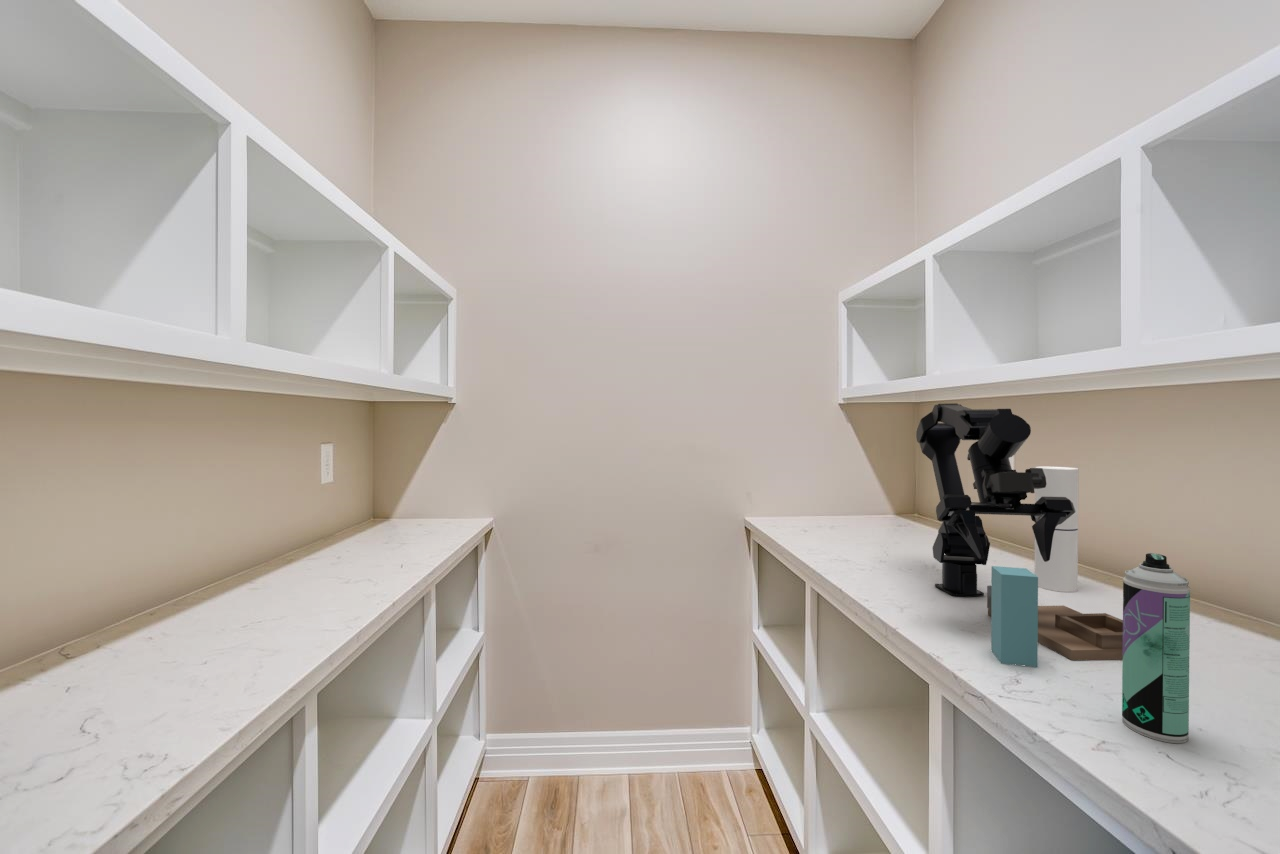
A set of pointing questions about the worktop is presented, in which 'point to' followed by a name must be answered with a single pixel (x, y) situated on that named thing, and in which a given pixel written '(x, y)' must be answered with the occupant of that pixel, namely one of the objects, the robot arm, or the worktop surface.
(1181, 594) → the spray can
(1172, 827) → the worktop surface
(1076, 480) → the cylindrical container
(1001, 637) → the teal column
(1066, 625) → the walnut base board
